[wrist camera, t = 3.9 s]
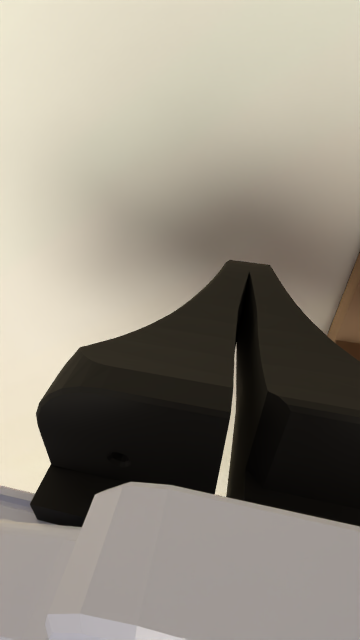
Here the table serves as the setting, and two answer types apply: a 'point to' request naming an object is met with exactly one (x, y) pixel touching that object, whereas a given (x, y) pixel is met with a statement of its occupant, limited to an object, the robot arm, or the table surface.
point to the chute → (348, 316)
